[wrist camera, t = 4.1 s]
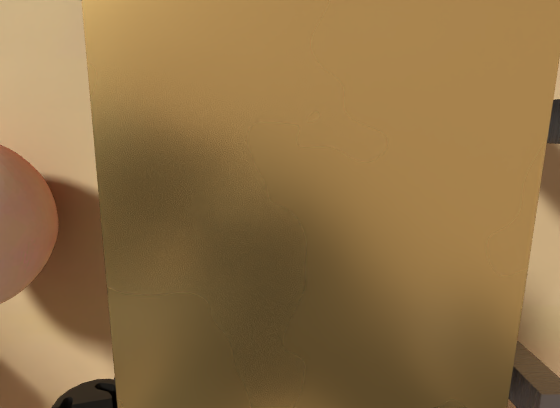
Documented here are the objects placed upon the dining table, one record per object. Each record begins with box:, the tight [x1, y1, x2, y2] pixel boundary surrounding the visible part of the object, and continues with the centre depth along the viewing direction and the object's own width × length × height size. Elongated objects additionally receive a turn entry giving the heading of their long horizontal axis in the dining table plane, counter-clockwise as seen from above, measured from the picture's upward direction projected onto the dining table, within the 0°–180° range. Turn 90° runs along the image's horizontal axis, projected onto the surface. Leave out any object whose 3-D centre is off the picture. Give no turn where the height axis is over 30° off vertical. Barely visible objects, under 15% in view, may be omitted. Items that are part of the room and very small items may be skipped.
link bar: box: [82, 0, 560, 408], centre depth 10 cm, size 4×18×10 cm, turn 0°
